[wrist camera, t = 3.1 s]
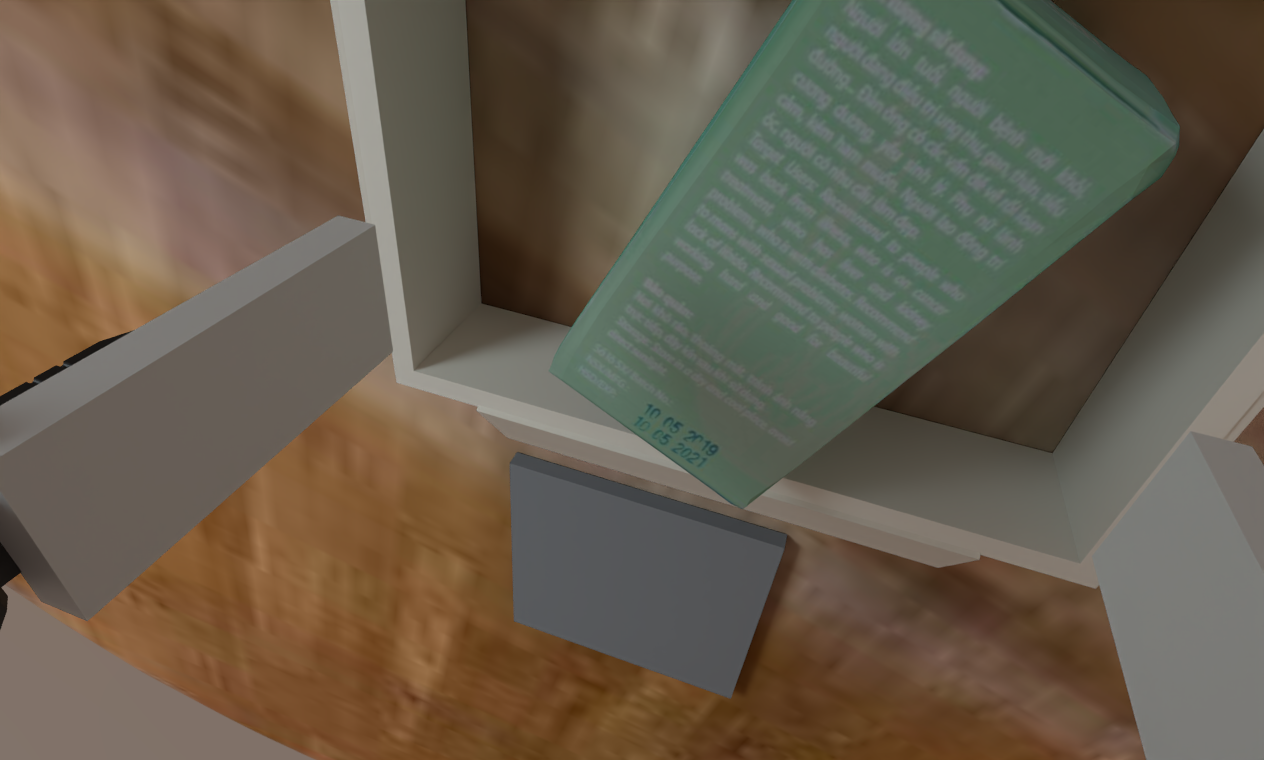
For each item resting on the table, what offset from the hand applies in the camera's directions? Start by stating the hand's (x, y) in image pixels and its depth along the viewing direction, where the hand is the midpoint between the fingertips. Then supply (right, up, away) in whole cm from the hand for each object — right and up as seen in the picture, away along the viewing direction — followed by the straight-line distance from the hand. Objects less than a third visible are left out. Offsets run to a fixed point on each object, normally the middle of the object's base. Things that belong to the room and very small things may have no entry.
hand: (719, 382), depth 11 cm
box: (+5, +6, +10) cm, 13 cm away
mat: (-1, -10, +24) cm, 26 cm away
